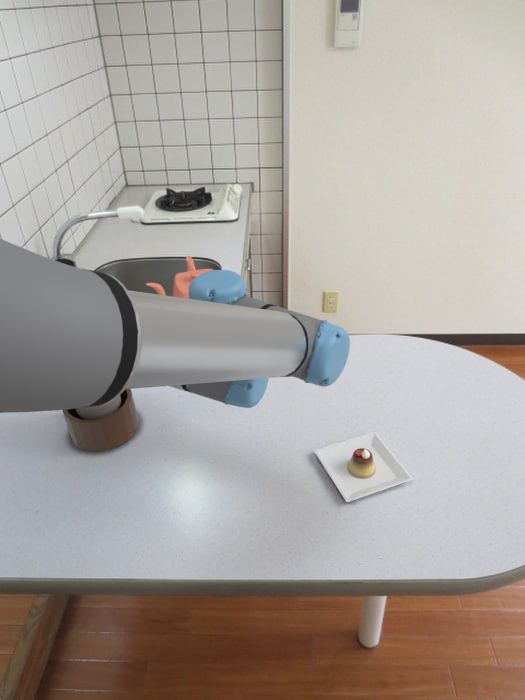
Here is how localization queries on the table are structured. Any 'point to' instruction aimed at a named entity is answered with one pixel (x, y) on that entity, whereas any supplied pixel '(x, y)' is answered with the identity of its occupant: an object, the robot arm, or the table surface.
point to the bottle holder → (104, 426)
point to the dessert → (362, 466)
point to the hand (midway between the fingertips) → (57, 330)
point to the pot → (181, 280)
